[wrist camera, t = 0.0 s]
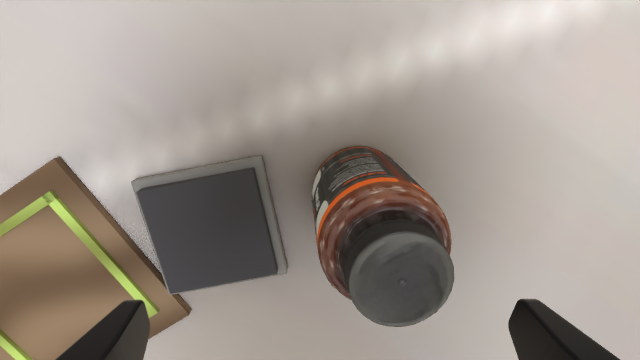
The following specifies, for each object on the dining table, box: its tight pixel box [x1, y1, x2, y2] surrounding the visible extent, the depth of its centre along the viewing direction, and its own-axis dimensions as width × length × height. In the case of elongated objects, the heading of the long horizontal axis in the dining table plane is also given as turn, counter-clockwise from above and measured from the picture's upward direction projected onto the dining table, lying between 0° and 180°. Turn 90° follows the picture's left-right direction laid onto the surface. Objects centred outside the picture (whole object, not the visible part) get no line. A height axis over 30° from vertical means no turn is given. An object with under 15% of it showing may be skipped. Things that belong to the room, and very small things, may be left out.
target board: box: [0, 157, 191, 360], centre depth 25 cm, size 13×13×1 cm
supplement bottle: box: [312, 146, 454, 327], centre depth 19 cm, size 6×6×11 cm
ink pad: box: [131, 155, 287, 295], centre depth 24 cm, size 8×8×2 cm
